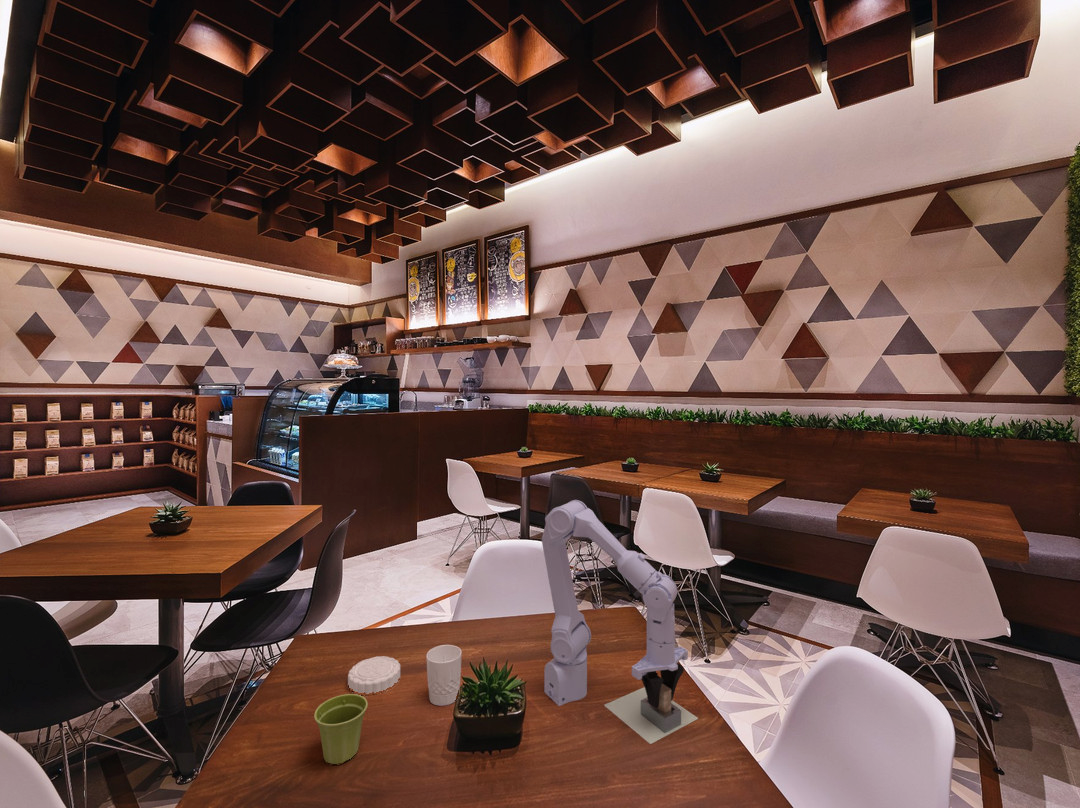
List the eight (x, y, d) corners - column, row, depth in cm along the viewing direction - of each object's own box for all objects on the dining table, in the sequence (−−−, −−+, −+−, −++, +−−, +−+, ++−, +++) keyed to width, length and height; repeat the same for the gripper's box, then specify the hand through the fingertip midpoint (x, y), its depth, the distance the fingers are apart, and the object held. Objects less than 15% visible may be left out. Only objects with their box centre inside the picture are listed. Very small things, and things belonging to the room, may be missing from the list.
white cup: (423, 691, 110) (423, 648, 110) (457, 683, 113) (457, 641, 113) (430, 711, 103) (429, 665, 103) (465, 702, 106) (465, 658, 106)
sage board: (650, 749, 92) (650, 744, 92) (603, 709, 103) (603, 705, 103) (698, 723, 99) (698, 718, 99) (649, 688, 111) (649, 684, 111)
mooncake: (348, 702, 106) (348, 686, 106) (347, 674, 117) (347, 660, 117) (403, 689, 111) (403, 674, 111) (397, 663, 122) (397, 650, 122)
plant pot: (328, 735, 95) (328, 692, 95) (374, 736, 95) (374, 693, 95) (304, 771, 86) (304, 724, 86) (355, 773, 86) (355, 725, 86)
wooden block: (664, 726, 97) (664, 692, 97) (650, 715, 100) (650, 682, 100) (671, 723, 98) (671, 689, 98) (656, 712, 101) (656, 679, 101)
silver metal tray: (664, 733, 95) (664, 718, 95) (640, 714, 100) (640, 700, 100) (681, 724, 97) (681, 710, 97) (656, 706, 103) (656, 692, 103)
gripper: (649, 655, 91) (649, 725, 91) (699, 635, 99) (699, 700, 99) (624, 640, 97) (624, 705, 97) (673, 622, 105) (673, 683, 105)
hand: (660, 701), depth 99 cm, fingers open, 4 cm apart
